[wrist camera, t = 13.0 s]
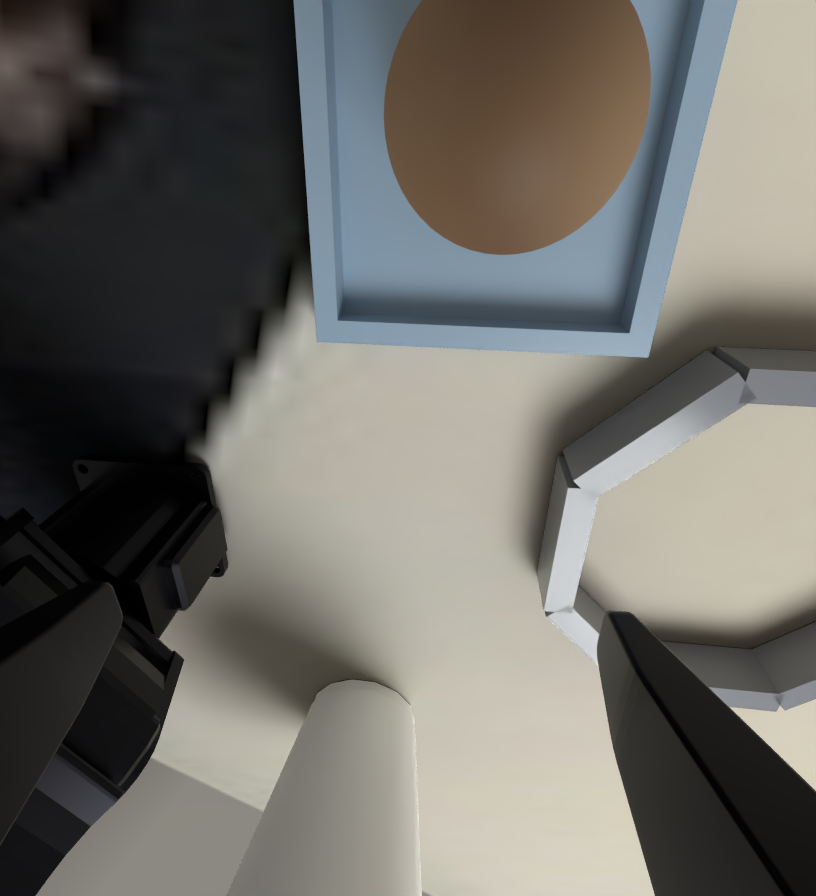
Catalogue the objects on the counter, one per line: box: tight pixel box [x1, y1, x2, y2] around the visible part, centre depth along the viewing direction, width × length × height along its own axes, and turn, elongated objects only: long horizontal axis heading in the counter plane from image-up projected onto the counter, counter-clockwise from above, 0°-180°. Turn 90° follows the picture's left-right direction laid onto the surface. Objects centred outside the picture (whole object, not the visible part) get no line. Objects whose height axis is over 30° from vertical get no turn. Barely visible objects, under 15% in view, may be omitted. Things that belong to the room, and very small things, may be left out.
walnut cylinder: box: [384, 0, 651, 255], centre depth 13 cm, size 5×5×7 cm
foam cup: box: [226, 679, 422, 896], centre depth 25 cm, size 10×9×13 cm
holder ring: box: [537, 347, 816, 712], centre depth 21 cm, size 16×16×2 cm
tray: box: [294, 0, 737, 358], centre depth 16 cm, size 12×13×2 cm
